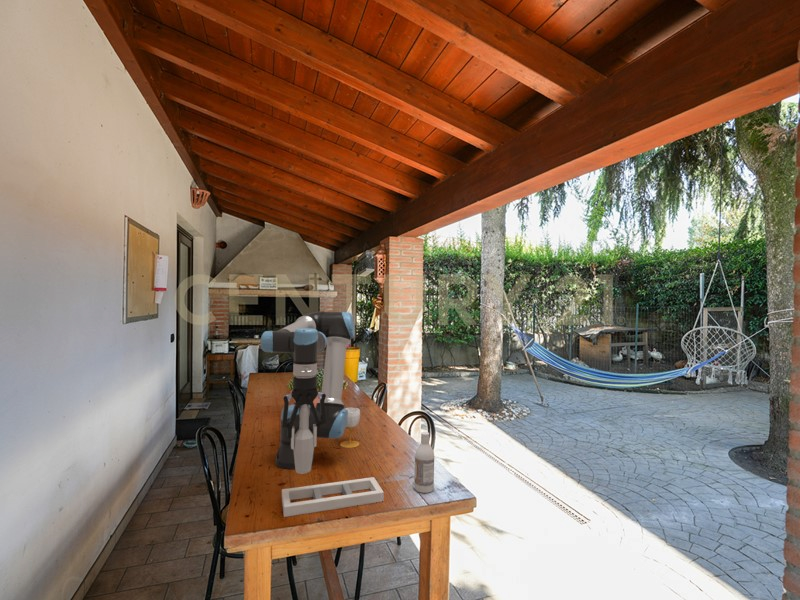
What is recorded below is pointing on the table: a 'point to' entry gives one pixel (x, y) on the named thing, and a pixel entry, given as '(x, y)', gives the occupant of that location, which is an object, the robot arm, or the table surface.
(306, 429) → the low poly bottle
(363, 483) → the white rectangular compartment rack
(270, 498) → the table surface
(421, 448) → the bath foam
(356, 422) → the cup
